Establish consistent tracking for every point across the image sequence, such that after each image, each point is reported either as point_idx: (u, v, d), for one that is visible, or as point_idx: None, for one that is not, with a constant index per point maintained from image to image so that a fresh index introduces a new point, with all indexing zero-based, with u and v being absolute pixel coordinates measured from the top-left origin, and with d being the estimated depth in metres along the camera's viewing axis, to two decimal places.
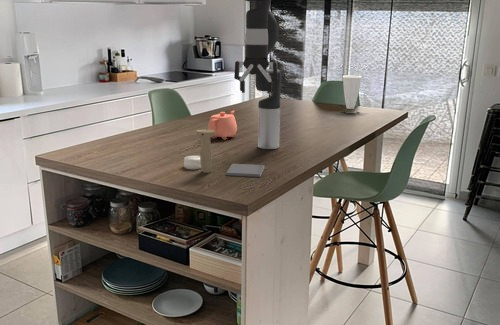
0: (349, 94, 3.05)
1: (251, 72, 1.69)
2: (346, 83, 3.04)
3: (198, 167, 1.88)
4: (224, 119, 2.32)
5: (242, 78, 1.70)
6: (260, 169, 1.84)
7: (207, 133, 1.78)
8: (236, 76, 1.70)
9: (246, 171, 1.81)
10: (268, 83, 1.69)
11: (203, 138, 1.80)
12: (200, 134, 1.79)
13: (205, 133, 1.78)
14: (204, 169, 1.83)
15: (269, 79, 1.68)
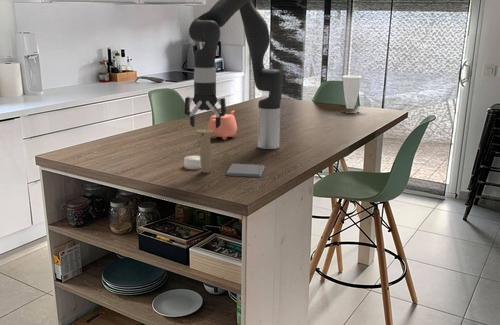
0: (349, 94, 3.05)
1: (200, 108, 1.77)
2: (346, 83, 3.04)
3: (198, 167, 1.88)
4: (224, 119, 2.32)
5: (192, 113, 1.78)
6: (260, 169, 1.84)
7: (207, 133, 1.78)
8: (186, 111, 1.78)
9: (246, 171, 1.81)
10: (216, 118, 1.78)
11: (203, 138, 1.80)
12: (200, 134, 1.79)
13: (205, 133, 1.78)
14: (204, 169, 1.83)
15: (217, 115, 1.77)
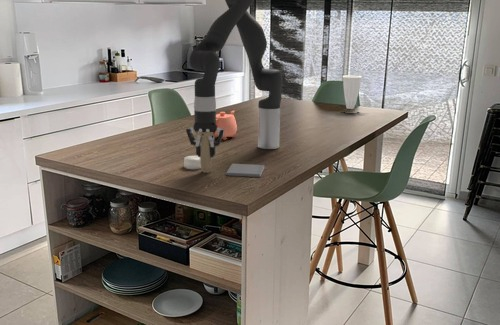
0: (349, 94, 3.05)
1: None
2: (346, 83, 3.04)
3: (198, 167, 1.88)
4: (224, 119, 2.32)
5: (198, 143, 1.81)
6: (260, 169, 1.84)
7: (207, 133, 1.78)
8: (192, 142, 1.81)
9: (246, 171, 1.81)
10: (211, 148, 1.81)
11: (203, 138, 1.80)
12: (200, 134, 1.79)
13: (205, 133, 1.78)
14: (204, 169, 1.83)
15: (212, 144, 1.80)
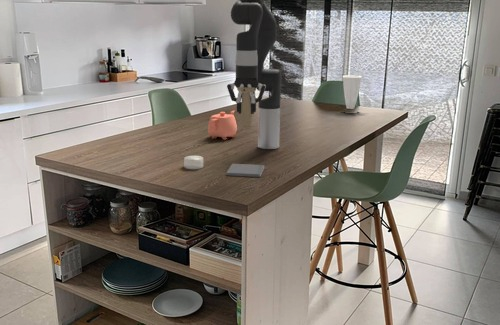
0: (349, 94, 3.05)
1: None
2: (346, 83, 3.04)
3: (198, 167, 1.88)
4: (224, 119, 2.32)
5: (239, 100, 1.78)
6: (260, 169, 1.84)
7: (249, 88, 1.75)
8: (233, 98, 1.78)
9: (246, 171, 1.81)
10: (252, 104, 1.78)
11: (244, 94, 1.76)
12: (241, 90, 1.76)
13: (247, 88, 1.75)
14: (245, 126, 1.80)
15: (253, 100, 1.77)
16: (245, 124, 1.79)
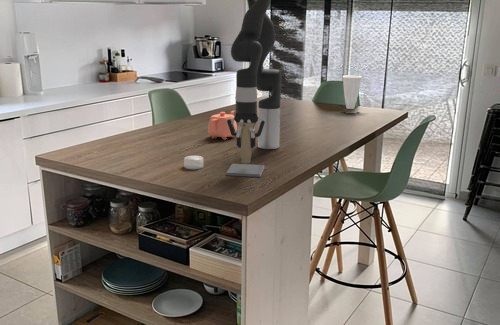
0: (349, 94, 3.05)
1: None
2: (346, 83, 3.04)
3: (198, 167, 1.88)
4: (224, 119, 2.32)
5: (238, 134, 1.81)
6: (260, 169, 1.84)
7: (248, 124, 1.78)
8: (233, 132, 1.81)
9: (246, 171, 1.81)
10: (252, 139, 1.81)
11: (244, 129, 1.80)
12: (241, 125, 1.79)
13: (246, 124, 1.78)
14: (244, 160, 1.83)
15: (253, 135, 1.80)
16: (245, 158, 1.82)
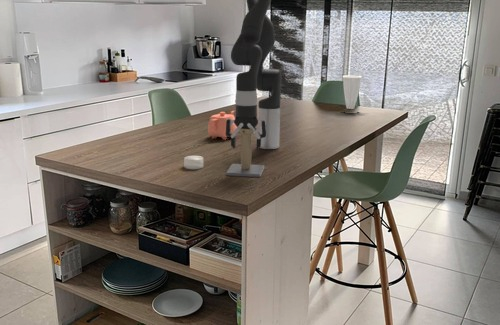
0: (349, 94, 3.05)
1: None
2: (346, 83, 3.04)
3: (198, 167, 1.88)
4: (224, 119, 2.32)
5: (233, 135, 1.81)
6: (260, 169, 1.84)
7: (248, 130, 1.79)
8: (227, 133, 1.81)
9: (246, 171, 1.81)
10: (257, 140, 1.81)
11: (244, 135, 1.80)
12: (241, 131, 1.80)
13: (246, 130, 1.79)
14: (244, 166, 1.83)
15: (258, 136, 1.80)
16: (245, 164, 1.83)
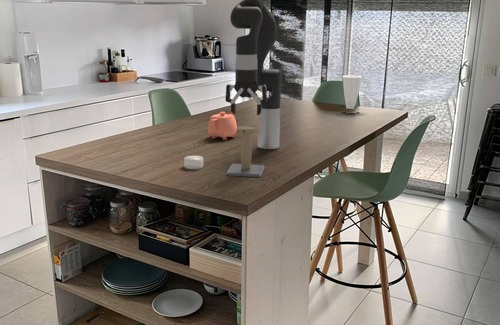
0: (349, 94, 3.05)
1: (241, 95, 1.77)
2: (346, 83, 3.04)
3: (198, 167, 1.88)
4: (224, 119, 2.32)
5: (233, 101, 1.78)
6: (260, 169, 1.84)
7: (248, 130, 1.79)
8: (227, 99, 1.78)
9: (246, 171, 1.81)
10: (258, 105, 1.77)
11: (244, 135, 1.80)
12: (241, 131, 1.80)
13: (246, 130, 1.79)
14: (244, 166, 1.83)
15: (258, 102, 1.77)
16: (245, 164, 1.83)
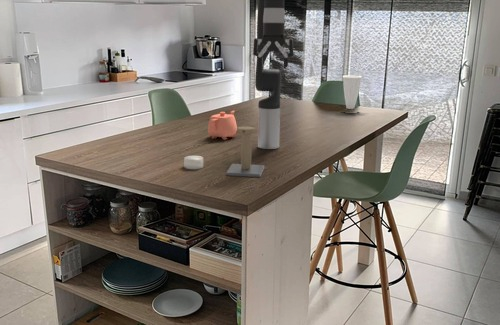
0: (349, 94, 3.05)
1: (269, 49, 1.83)
2: (346, 83, 3.04)
3: (198, 167, 1.88)
4: (224, 119, 2.32)
5: (260, 54, 1.83)
6: (260, 169, 1.84)
7: (248, 130, 1.79)
8: (255, 52, 1.84)
9: (246, 171, 1.81)
10: (284, 59, 1.83)
11: (244, 135, 1.80)
12: (241, 131, 1.80)
13: (246, 130, 1.79)
14: (244, 166, 1.83)
15: (285, 55, 1.82)
16: (245, 164, 1.83)
